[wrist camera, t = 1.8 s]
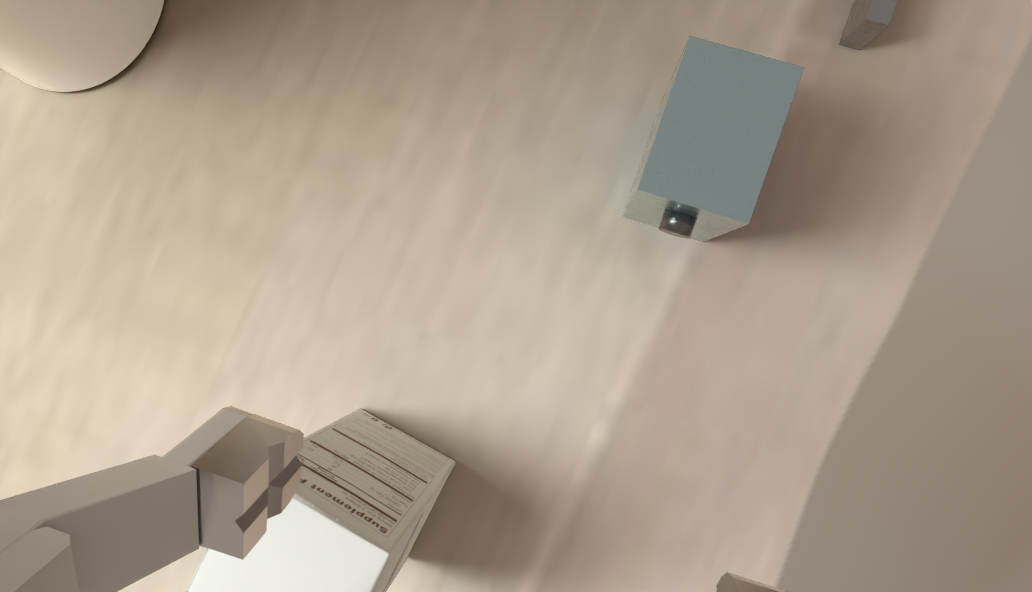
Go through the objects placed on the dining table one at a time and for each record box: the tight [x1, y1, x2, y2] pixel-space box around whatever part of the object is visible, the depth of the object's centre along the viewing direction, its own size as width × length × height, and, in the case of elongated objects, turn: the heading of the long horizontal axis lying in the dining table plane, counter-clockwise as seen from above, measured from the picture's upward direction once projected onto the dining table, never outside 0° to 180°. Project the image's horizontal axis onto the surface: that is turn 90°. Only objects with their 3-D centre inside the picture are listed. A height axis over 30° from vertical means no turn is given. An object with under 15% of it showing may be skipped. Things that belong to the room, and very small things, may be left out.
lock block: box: [623, 36, 804, 242], centre depth 29 cm, size 8×5×9 cm, turn 162°
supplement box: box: [186, 409, 456, 592], centre depth 29 cm, size 7×7×13 cm
